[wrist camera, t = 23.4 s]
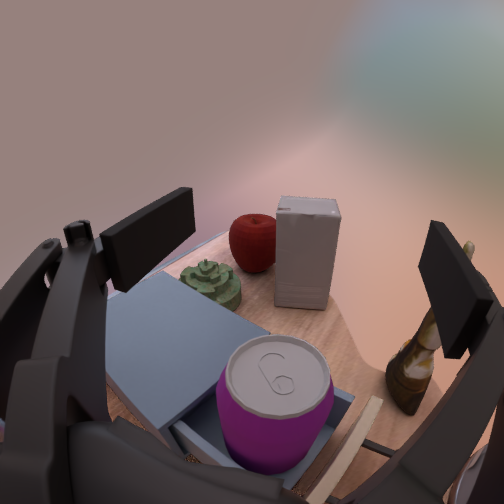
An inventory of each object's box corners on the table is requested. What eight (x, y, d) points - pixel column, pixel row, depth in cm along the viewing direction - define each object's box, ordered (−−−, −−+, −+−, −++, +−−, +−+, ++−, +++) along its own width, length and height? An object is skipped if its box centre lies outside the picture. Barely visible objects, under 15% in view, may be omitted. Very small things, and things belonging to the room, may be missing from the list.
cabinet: (266, 382, 29) (270, 332, 25) (180, 462, 20) (157, 429, 16) (172, 320, 38) (162, 270, 34) (96, 369, 29) (70, 320, 25)
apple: (254, 249, 57) (255, 203, 52) (292, 266, 51) (296, 216, 47) (219, 266, 51) (216, 216, 46) (257, 288, 45) (259, 233, 40)
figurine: (395, 423, 23) (491, 272, 13) (370, 374, 29) (429, 223, 20) (427, 409, 23) (517, 266, 14) (401, 365, 30) (462, 224, 20)
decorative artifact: (172, 318, 38) (240, 320, 39) (163, 278, 35) (239, 279, 35) (183, 279, 47) (241, 280, 47) (179, 243, 44) (240, 243, 44)
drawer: (398, 448, 19) (430, 418, 16) (337, 548, 11) (367, 549, 7) (240, 368, 30) (239, 327, 27) (160, 435, 22) (140, 403, 18)
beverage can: (321, 462, 19) (366, 400, 13) (237, 486, 17) (229, 443, 11) (291, 400, 25) (310, 316, 19) (217, 418, 23) (202, 337, 17)
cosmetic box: (324, 287, 46) (339, 197, 38) (326, 315, 40) (345, 215, 32) (275, 282, 47) (281, 191, 39) (269, 309, 41) (276, 208, 33)
